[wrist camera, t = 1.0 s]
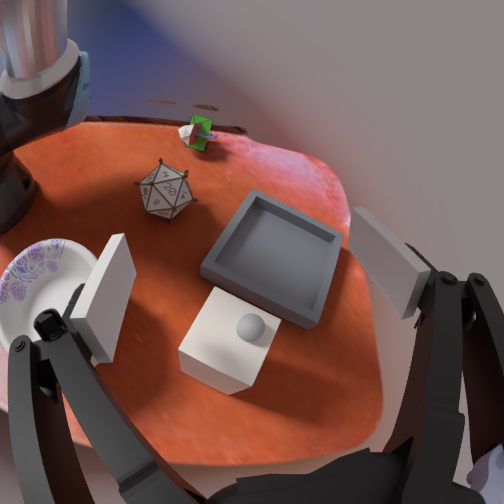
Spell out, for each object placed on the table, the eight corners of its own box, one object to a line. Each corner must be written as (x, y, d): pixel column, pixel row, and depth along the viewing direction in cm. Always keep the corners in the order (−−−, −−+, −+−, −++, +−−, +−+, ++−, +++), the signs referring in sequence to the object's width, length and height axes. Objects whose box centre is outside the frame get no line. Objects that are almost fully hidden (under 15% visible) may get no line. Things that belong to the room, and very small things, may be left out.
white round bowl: (89, 408, 23) (61, 406, 16) (7, 338, 23) (-26, 316, 17) (146, 304, 32) (136, 274, 25) (62, 253, 32) (43, 218, 26)
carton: (181, 371, 28) (177, 346, 18) (204, 329, 32) (216, 280, 21) (228, 395, 28) (255, 385, 17) (249, 351, 31) (285, 315, 21)
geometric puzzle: (194, 120, 52) (185, 103, 44) (224, 129, 52) (219, 112, 44) (179, 150, 52) (168, 136, 44) (210, 160, 52) (203, 147, 44)
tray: (199, 275, 35) (200, 264, 33) (248, 201, 45) (252, 188, 42) (308, 330, 35) (318, 323, 32) (335, 245, 44) (343, 234, 41)
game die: (178, 223, 44) (221, 195, 38) (142, 243, 37) (185, 212, 31) (152, 177, 42) (191, 143, 37) (113, 190, 35) (150, 150, 30)
